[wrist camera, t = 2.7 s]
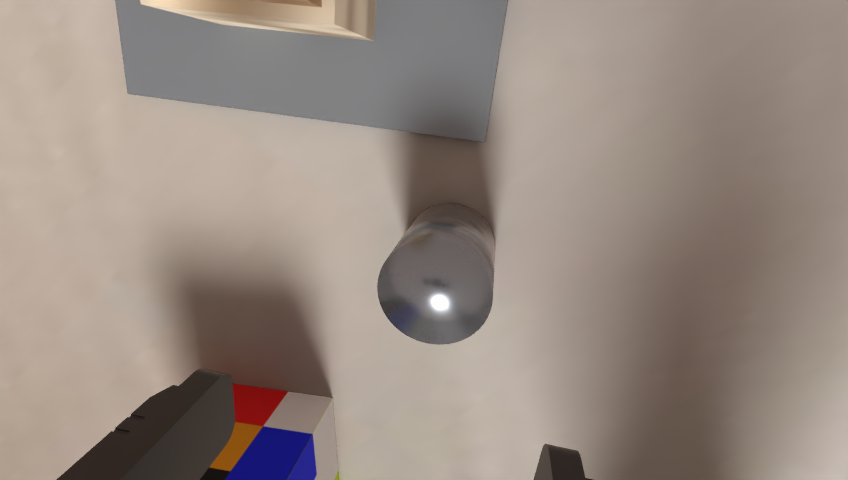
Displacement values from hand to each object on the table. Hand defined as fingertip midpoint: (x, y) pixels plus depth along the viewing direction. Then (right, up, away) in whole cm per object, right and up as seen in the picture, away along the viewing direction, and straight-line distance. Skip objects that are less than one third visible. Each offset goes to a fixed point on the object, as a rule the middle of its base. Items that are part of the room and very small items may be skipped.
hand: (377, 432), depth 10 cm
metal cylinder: (+3, +4, +13) cm, 14 cm away
